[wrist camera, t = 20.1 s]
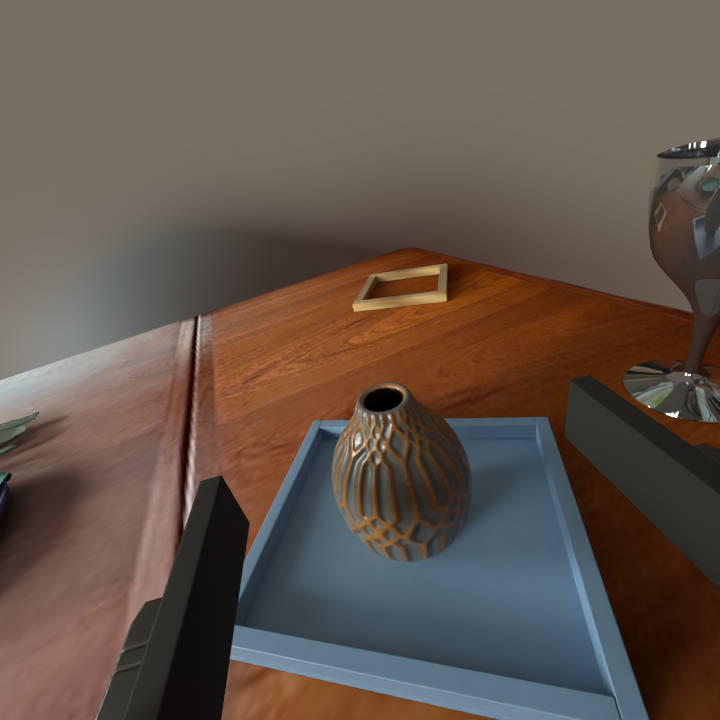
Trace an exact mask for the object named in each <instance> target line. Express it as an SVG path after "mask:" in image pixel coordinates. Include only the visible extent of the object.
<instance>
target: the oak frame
mask: <svg viewBox="0 0 720 720" xmlns="http://www.w3.org/2000/svg"><path fill="white" fill-rule="evenodd" d="M435 274H439V281H438V291H434V292H425V293H417V294H409V295H401V296H393V297H385V298H377V299H369V297H370V295H371V293H372V291H373V289H374V287H375V285H376V283H377V282H385V281H392V280H399V279H406V278H414V277H421V276H428V275H435ZM447 292H448V264H440V265H433V266H427V267H420V268H413V269H406V270H399V271H392V272H385V273H378V274H371V275H370V276H369V278H368V279H367V281H366V283H365V284H364V286H363V288H362V289H361V291H360V293H359V294H358V296H357V298H356V299H355V301H354V303H353V309H354V312H358V311H367V310H375V309H384V308H393V307H402V306H411V305H419V304H428V303H437V302H446V301H447ZM368 299H369V300H368Z"/></svg>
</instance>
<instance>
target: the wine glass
mask: <svg viewBox="0 0 720 720" xmlns="http://www.w3.org/2000/svg"><path fill="white" fill-rule="evenodd" d="M649 236H650V245H651V250H652V254H653V257H654V259H655V260H656V262H657V263H658V265H659V266H660V268H661V269H662V270H663V271H664V272H665V273H666V274H667V275H668V276H669V277H670V279H671V280H672V281H673V282H674V283H675V284H676V285H677V286H678V287H679V288H680V289H681V291H682V292H683V293H684V294H685V296H686V297H687V299H688V301H689V302H690V305H691V308H692V311H693V331H692V339H691V345H690V350H689V354H688V357H687V360H686V361H677V360H661V361H651V362H646V363H642V364H639V365H636V366H634V367H632V368H631V369H629V370H628V371H627V372H626V373H625V375H624V377H623V385H624V388H625V389H626V391H627V392H628V393H629V394H630V395H631V396H632V397H633V398H634V399H635V400H637V401H638V402H640V403H641V404H643V405H645V406H647V407H649V408H651V409H653V410H656V411H658V412H660V413H663V414H667V415H670V416H673V417H677V418H681V419H686V420H692V421H698V422H711V423H715V422H720V369H719V368H716V367H712V366H709V365H704V364H702V361H703V358H704V355H705V352H706V350H707V347H708V345H709V343H710V341H711V339H712V337H713V335H714V333H715V331H716V329H717V328H718V326H719V324H720V138H715V139H710V140H705V141H701V142H696V143H691V144H687V145H684V146H680V147H676V148H673V149H670V150H667V151H664V152H662V153H660V154H658V155H657V158H656V162H655V167H654V172H653V177H652V183H651V191H650V199H649Z"/></svg>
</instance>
